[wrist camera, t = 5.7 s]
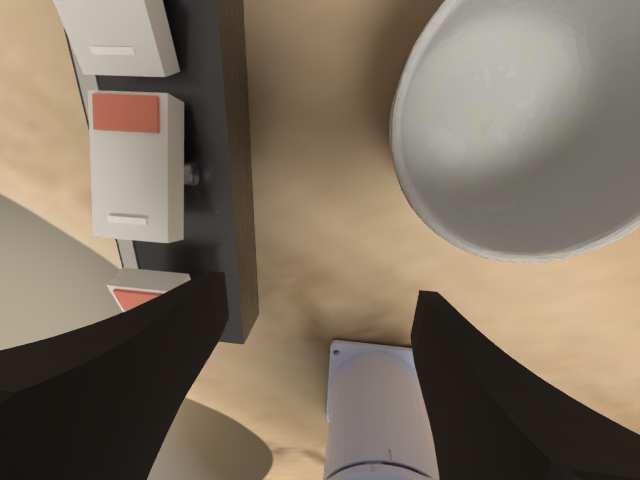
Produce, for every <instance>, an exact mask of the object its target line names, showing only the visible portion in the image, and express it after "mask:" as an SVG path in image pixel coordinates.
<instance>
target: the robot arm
mask: <svg viewBox="0 0 640 480" xmlns="http://www.w3.org/2000/svg"><path fill="white" fill-rule="evenodd" d="M228 319H229V310H228V300H227V291H226V281H225V273H224V272H213V271H208V272H206V273H203V274H201V275H199V276H197V277H195V278H193V279H191V280H189V281H187V282H185V283H183V284H181V285H179V286H177V287H175V288H173V289H171V290H170V291H168V292H166V293H164V294H162V295H160V296H158V297H155V298H153V299H151V300H149V301H147V302H145V303H143V304H141V305H138V306H136V307H134V308H132V309H130V310H127V311H125V312H123V313H120V314H118V315H116V316H113V317H110V318H108V319H105V320H102V321H100V322H97V323H94V324H92V325H88V326H86V327H82V328H79V329H76V330H73V331H70V332H67V333H64V334H61V335H58V336H55V337H51V338H48V339H44V340H40V341H37V342H33V343H29V344H25V345H21V346H17V347H13V348H9V349H5V350H1V351H0V480H147V478H148V475H149V473H150V470H151V468H152V466H153V463H154V461H155V459H156V457H157V454H158V452H159V450H160V448H161V446H162V443H163V441H164V439H165V437H166V435H167V432H168V430H169V428H170V426H171V424H172V422H173V420H174V418H175V416H176V414H177V411H178V410H179V407H180V405H181V404H182V402H183V400H184V398H185V396H186V395H187V393H188V391H189V389H190V388H191V386H192V384H193V383H194V381H195V380H196V378H197V376H198V375H199V373H200V371H201V370H202V368H203V366H204V365H205V363H206V362H207V360H208V358H209V357H210V355H211V353H212V352H213V350H214V348H215V346H216V345H217V343H218V341H219V340H220V337H221V335H222V333H223V331H224V328H225V326H226V323H227V321H228ZM411 344H412V348H405V347H396V346H387V345H378V344H369V343H360V342H351V341H342V340H334V341H332V342H331V347H330V362H329V378H328V394H327V409H326V422H327V423H329V425H328V435H327V445H326V455H325V465H324V475H323V480H640V435H639V434H637V433H635V432H633V431H631V430H629V429H627V428H625V427H623V426H621V425H620V424H618V423H616V422H614V421H612V420H610V419H609V418H607V417H605V416H603V415H601V414H599V413H597V412H596V411H594V410H592V409H590V408H589V407H587V406H585V405H583V404H582V403H580V402H578V401H576V400H575V399H573V398H571V397H570V396H568V395H567V394H565V393H563V392H562V391H560V390H559V389H557V388H555V387H554V386H552V385H551V384H549V383H547V382H546V381H544V380H543V379H541V378H540V377H538V376H537V375H535V374H534V373H532V372H531V371H530V370H528V369H527V368H525V367H524V366H523V365H521V364H520V363H518V362H517V361H516V360H514V359H513V358H511V357H510V356H509V355H508V354H506V353H505V352H504V351H502V350H501V349H500V348H499V347H498V346H496V345H495V344H494V343H493V342H491V341H490V340H489V339H488V338H487V337H485V336H484V335H483V334H482V333H481V332H480V331H479V330H477V329H476V328H475V327H474V326H473V325H472V324H471V323H470V322H469V321H468V320H466V319H465V318H464V317H463V316H462V315H461V314H460V313H459V312H458V311H457V310H456V309H455V308H454V307H453V306H452V305H451V304H450V303H449V302H448V301H447V300H446V299H444V298H443V297H442V296H441V295H440V294H439V293H438V292H432V291H422V290H419V295H418V301H417V306H416V311H415V316H414V321H413V326H412V331H411ZM334 350H338V352H336V351H334Z"/></svg>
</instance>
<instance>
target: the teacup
mask: <svg viewBox="0 0 640 480" xmlns="http://www.w3.org/2000/svg"><path fill="white" fill-rule="evenodd" d="M389 143H390V150H391V155H392V160H393V163H394V167H395V172H396V175H397V178H398V181H399V184H400V186H401V189H402V191H403V193H404V195H405V197H406V199H407V201H408V202H409V204H410V206H411V208H412V209H413V210H414V211H415V213H416V214H417V215H418V216H419V217H420V218H421V219H422V221H423V222H424V223H425V224H426V225H427V226H428V227H429V228H430V229H432V230H433V231H434V232H435V233H436V234H437V235H439V236H441V237H442V238H444V239H445V240H447V241H448V242H449V243H451V244H452V245H454V246H456V247H458V248H460V249H462V250H464V251H467V252H469V253H472V254H474V255H477V256H480V257H483V258H487V259H493V260H497V261H501V262H511V263H544V262H549V261H552V260H564V259H566V258H568V257H570V256H577V255H579V254H582V253H586V252H591V251H594V250H595V249H597V248H600V247H603V246H605V245H608V244H610V243H612V242H615V241H617V240H619V239H621V238H622V237H624V236H626V235H628V234H629V233H631V232H632V231H634V230H635V229H637V228H638V227H640V0H444V1H443V3H442V4H441V5H440V6H439V8H438V9H437V10H436V11H435V13H434V14H433V15H432V17H431V18H430V19H429V20H428V22H427V23H426V25H425V27H424V28H423V30H422V32H421V33H420V35H419V36H418V38H417V39H416V41H415V44H414V46H413V48H412V50H411V52H410V54H409V57H408V59H407V61H406V64H405V66H404V69H403V71H402V74H401V77H400V80H399V82H398V87H397V90H396V93H395V96H394V99H393V103H392V107H391V113H390V120H389Z"/></svg>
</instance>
